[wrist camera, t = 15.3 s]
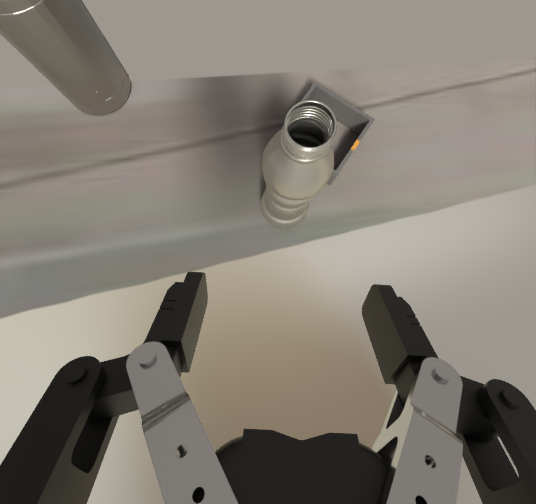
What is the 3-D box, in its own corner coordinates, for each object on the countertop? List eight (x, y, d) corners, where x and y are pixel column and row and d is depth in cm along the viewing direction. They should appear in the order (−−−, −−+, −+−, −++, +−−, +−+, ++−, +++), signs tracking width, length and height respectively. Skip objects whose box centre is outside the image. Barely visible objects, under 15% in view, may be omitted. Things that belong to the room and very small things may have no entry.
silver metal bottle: (314, 205, 37) (378, 117, 17) (285, 241, 36) (318, 190, 16) (280, 179, 37) (304, 61, 18) (250, 213, 37) (241, 130, 17)
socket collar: (274, 149, 38) (275, 133, 34) (309, 99, 39) (315, 79, 35) (329, 185, 38) (338, 174, 34) (364, 134, 39) (376, 117, 35)
